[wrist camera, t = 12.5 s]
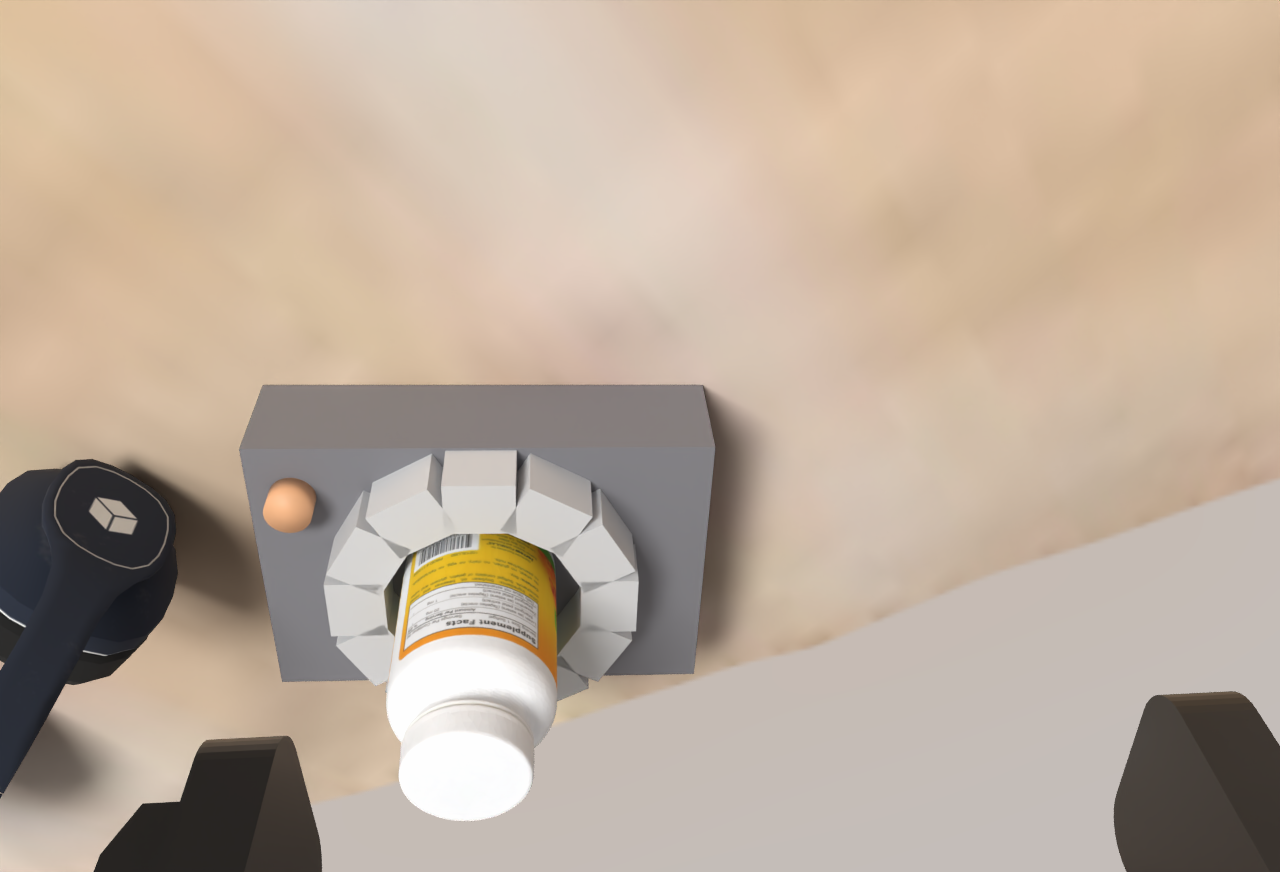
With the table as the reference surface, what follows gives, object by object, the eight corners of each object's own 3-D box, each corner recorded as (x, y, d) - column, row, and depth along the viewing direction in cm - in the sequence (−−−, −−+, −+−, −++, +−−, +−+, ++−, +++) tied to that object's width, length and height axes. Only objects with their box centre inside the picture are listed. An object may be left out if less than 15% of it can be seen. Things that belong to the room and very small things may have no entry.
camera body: (702, 385, 44) (722, 481, 39) (684, 604, 50) (699, 711, 45) (262, 385, 42) (225, 485, 38) (299, 610, 49) (272, 721, 44)
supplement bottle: (519, 635, 45) (514, 854, 37) (384, 592, 43) (348, 812, 35) (580, 534, 42) (588, 747, 34) (439, 485, 41) (412, 697, 33)
